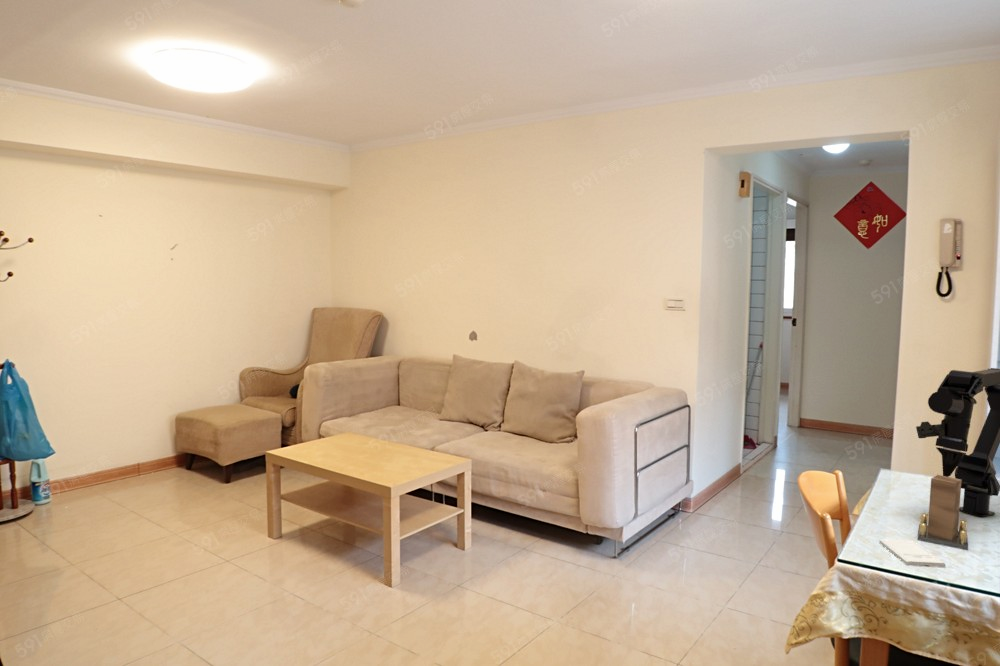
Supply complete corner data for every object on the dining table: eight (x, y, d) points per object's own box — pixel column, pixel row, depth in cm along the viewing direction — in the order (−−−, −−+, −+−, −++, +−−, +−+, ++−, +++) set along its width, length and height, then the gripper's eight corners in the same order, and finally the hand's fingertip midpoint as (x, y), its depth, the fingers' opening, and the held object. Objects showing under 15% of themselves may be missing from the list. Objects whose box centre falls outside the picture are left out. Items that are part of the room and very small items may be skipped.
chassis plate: (919, 527, 165) (920, 512, 165) (966, 536, 160) (967, 521, 159) (917, 539, 157) (918, 523, 157) (967, 549, 152) (968, 533, 151)
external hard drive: (914, 547, 154) (945, 569, 142) (878, 545, 155) (906, 567, 143) (915, 540, 154) (945, 562, 142) (879, 538, 155) (906, 560, 143)
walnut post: (934, 528, 162) (937, 474, 161) (957, 534, 158) (961, 479, 157) (927, 533, 159) (931, 478, 158) (951, 539, 155) (955, 483, 154)
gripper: (924, 413, 181) (914, 467, 181) (918, 409, 166) (907, 468, 166) (972, 422, 174) (962, 478, 174) (970, 419, 159) (959, 480, 159)
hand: (946, 476), depth 168 cm, fingers open, 9 cm apart
